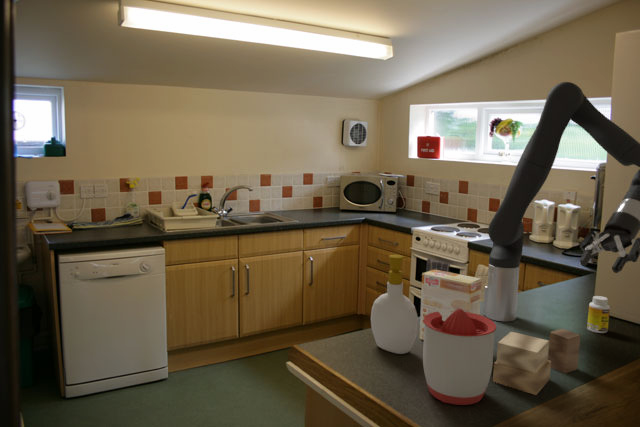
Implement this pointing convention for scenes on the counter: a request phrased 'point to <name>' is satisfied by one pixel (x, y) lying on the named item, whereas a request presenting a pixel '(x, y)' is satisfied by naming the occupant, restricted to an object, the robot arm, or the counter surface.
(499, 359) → the block top
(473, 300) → the coffeecake box
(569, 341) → the walnut post
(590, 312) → the supplement bottle
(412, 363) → the counter surface
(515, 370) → the block bottom
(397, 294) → the soap bottle
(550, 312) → the counter surface
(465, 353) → the citrus juicer
